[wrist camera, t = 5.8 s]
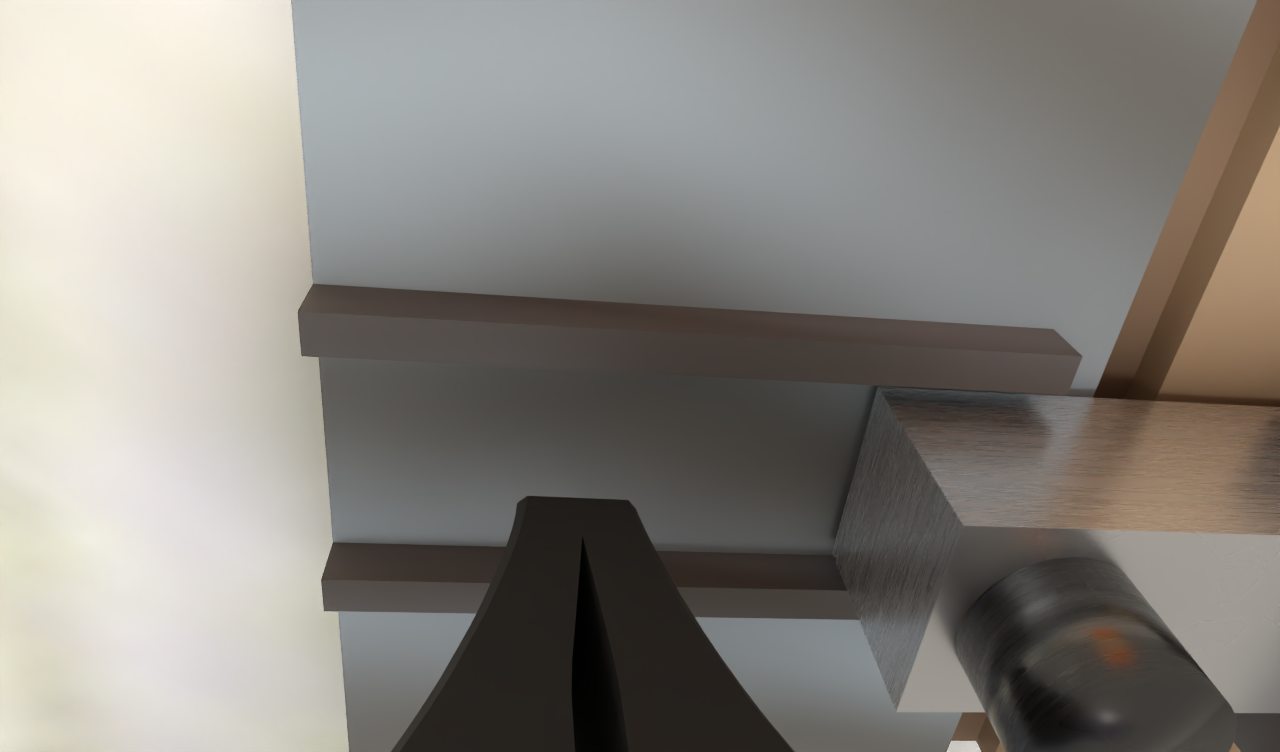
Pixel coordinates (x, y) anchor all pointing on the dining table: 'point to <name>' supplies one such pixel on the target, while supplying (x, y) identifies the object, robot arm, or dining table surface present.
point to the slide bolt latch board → (749, 286)
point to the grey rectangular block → (1070, 565)
